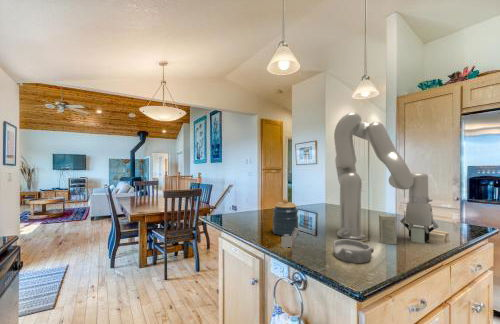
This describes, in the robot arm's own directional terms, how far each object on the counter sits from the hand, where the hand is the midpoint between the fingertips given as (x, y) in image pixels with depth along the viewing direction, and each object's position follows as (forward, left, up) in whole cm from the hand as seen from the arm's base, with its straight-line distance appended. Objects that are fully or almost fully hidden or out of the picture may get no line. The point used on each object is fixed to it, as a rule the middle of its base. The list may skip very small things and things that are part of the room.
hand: (418, 239), depth 114 cm
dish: (-42, +12, -1) cm, 44 cm away
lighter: (-50, +35, -1) cm, 61 cm away
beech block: (+8, -5, -1) cm, 9 cm away
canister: (-34, +50, -1) cm, 61 cm away
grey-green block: (0, 0, -1) cm, 1 cm away
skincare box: (-13, +9, -1) cm, 16 cm away
